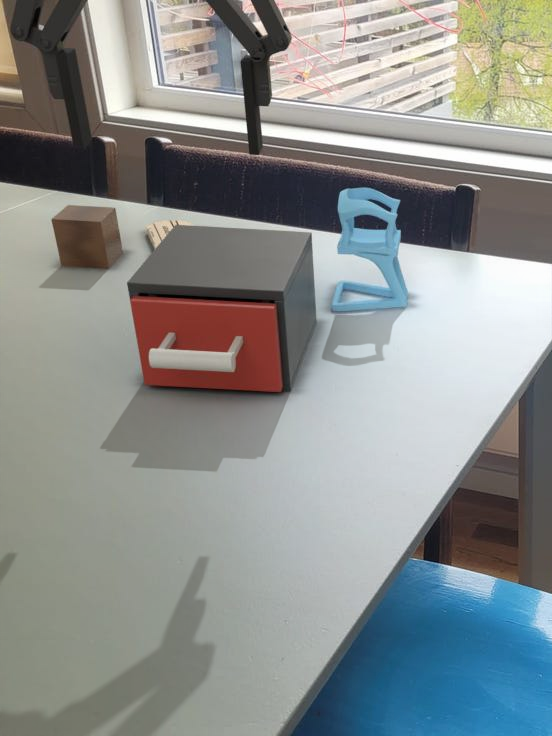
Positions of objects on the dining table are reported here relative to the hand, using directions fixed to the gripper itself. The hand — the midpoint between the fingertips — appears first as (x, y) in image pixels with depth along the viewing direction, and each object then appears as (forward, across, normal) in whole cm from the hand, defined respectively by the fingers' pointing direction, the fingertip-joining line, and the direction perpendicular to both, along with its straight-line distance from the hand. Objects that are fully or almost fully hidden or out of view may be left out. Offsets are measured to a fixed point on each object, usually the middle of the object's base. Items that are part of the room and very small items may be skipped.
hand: (170, 148), depth 80 cm
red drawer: (+20, +1, +4) cm, 21 cm away
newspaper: (+21, -7, +35) cm, 42 cm away
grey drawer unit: (+21, +2, +10) cm, 23 cm away
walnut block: (+21, -19, +35) cm, 45 cm away
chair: (+22, +15, +25) cm, 36 cm away
